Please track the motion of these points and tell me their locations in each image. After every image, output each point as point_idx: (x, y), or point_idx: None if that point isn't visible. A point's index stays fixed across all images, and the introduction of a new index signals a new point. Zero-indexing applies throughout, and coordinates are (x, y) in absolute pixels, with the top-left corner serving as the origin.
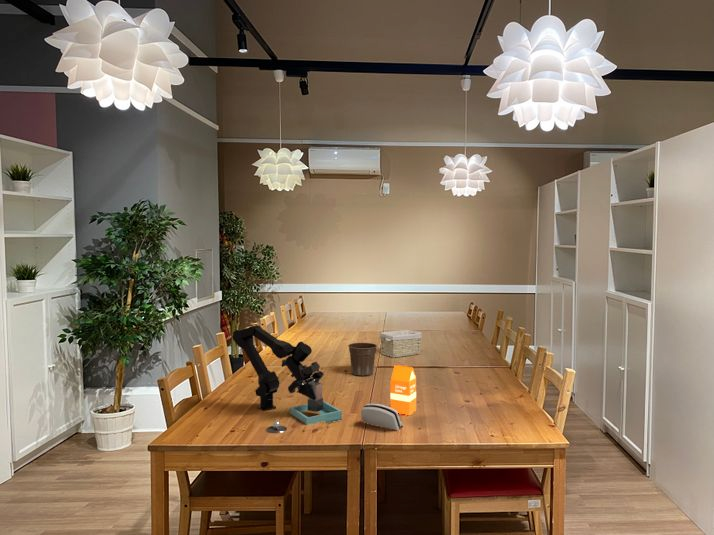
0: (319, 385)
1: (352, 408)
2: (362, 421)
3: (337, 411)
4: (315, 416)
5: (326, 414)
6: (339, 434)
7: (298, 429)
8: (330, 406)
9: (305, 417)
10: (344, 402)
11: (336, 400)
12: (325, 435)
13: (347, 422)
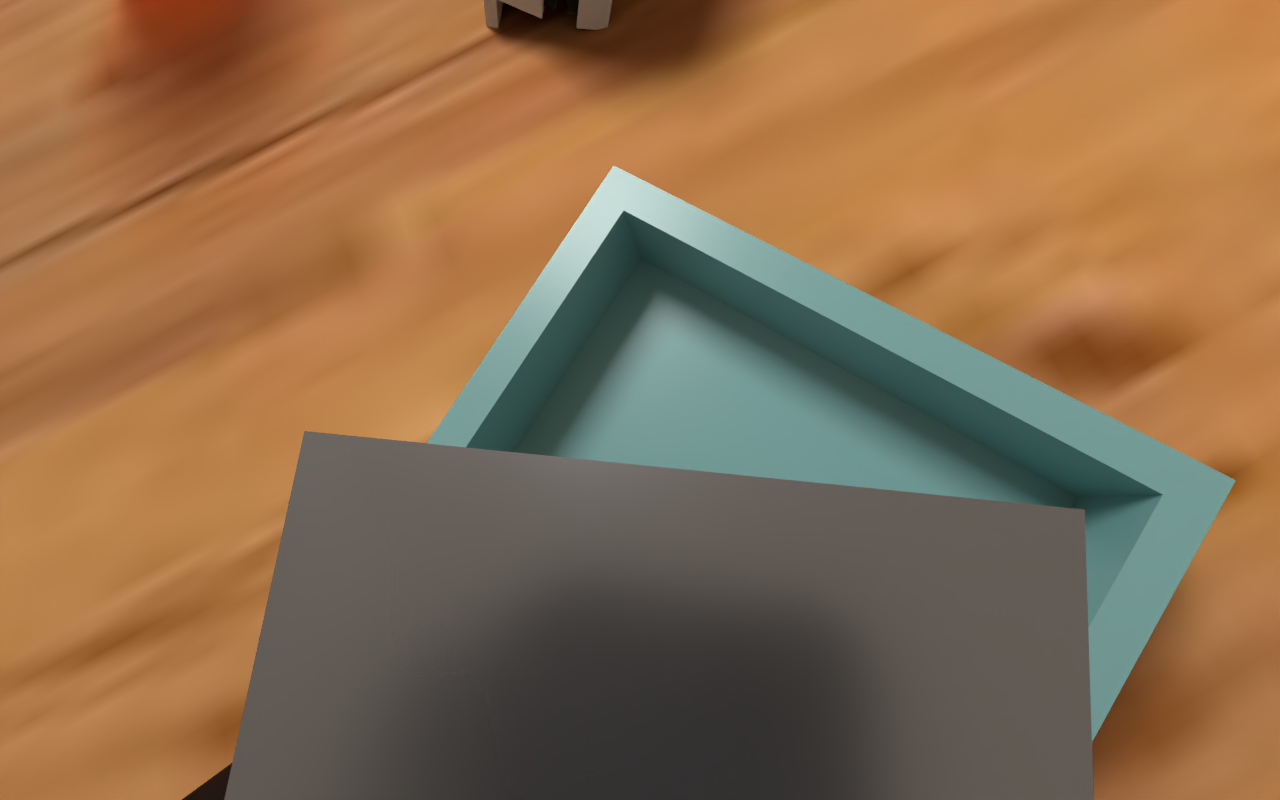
0: (627, 471)
1: (242, 324)
2: (610, 4)
3: (657, 207)
4: (1047, 390)
5: (850, 285)
6: (1044, 41)
7: (1216, 582)
8: (485, 420)
9: (1207, 530)
10: (80, 506)
11: (31, 636)
12: (1174, 152)
13: (662, 154)
